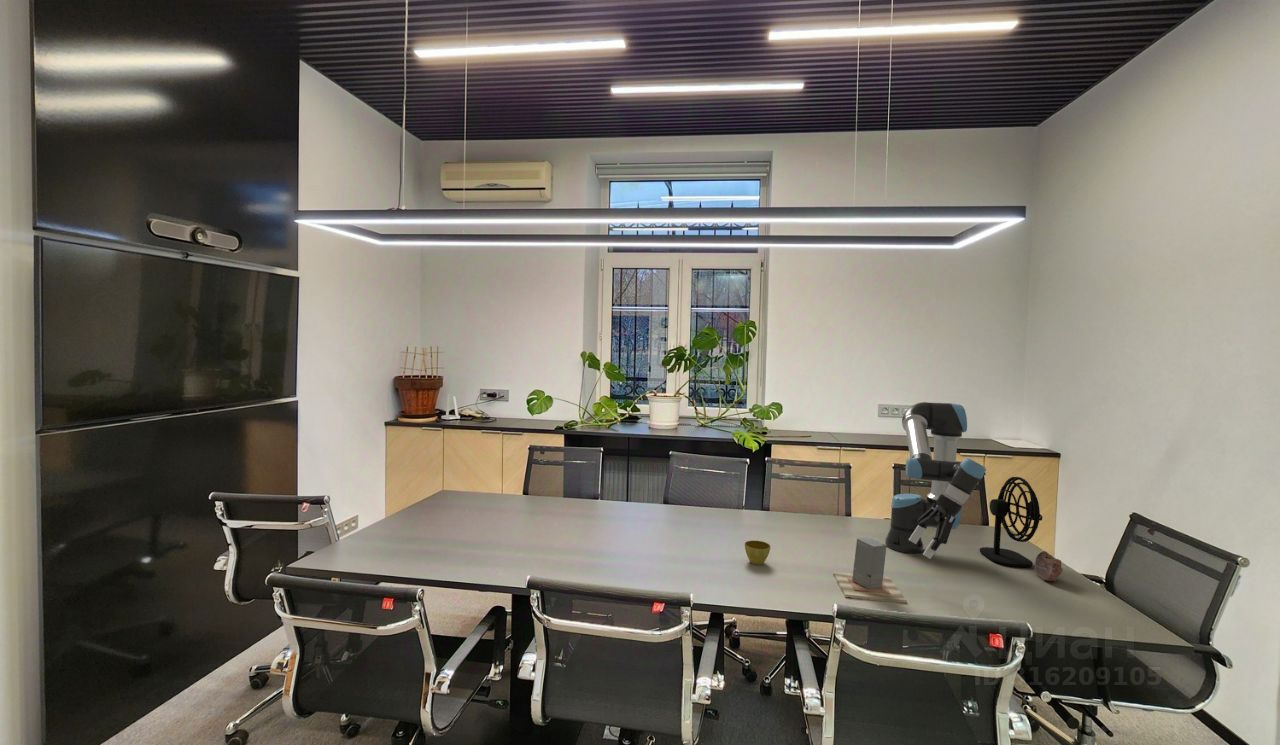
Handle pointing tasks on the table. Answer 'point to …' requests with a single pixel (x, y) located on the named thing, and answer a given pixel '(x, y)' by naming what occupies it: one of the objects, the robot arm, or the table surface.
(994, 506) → the desk fan
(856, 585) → the seat board
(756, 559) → the flower pot
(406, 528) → the table surface
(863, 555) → the skincare box
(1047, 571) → the stone
